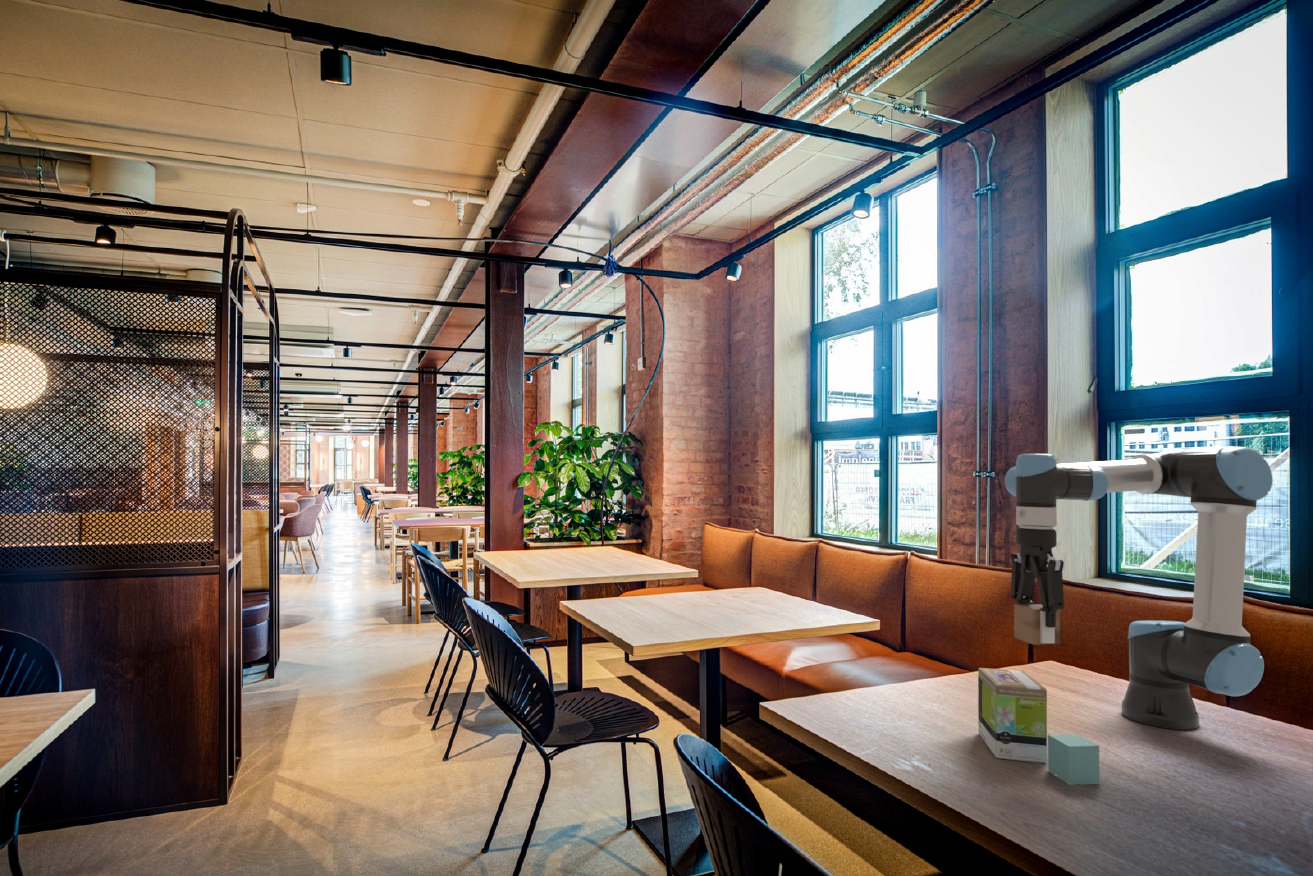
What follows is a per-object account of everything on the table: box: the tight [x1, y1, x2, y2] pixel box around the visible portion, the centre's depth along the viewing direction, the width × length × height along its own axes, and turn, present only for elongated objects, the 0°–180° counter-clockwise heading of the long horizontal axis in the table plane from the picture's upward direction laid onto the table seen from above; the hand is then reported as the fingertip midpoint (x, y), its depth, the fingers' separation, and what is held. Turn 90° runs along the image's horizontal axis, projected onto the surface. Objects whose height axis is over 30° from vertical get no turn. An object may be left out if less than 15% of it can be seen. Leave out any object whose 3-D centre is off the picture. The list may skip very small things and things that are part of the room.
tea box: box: [977, 667, 1048, 763], centre depth 150 cm, size 15×10×15 cm
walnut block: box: [1013, 603, 1061, 645], centre depth 148 cm, size 6×6×7 cm
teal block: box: [1047, 733, 1101, 786], centre depth 135 cm, size 6×6×7 cm
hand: (1036, 639), depth 147 cm, fingers closed on walnut block, 6 cm apart
